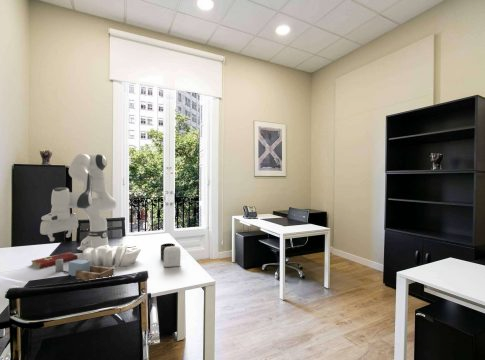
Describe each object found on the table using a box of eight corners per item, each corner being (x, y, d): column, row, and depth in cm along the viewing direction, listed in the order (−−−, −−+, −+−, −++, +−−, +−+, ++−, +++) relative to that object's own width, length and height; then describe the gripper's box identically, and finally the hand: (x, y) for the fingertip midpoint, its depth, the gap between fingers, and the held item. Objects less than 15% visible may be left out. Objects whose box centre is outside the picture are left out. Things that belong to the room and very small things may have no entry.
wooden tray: (113, 276, 140) (113, 268, 140) (99, 282, 131) (99, 274, 131) (90, 272, 144) (90, 265, 144) (75, 279, 135) (75, 270, 135)
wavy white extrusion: (75, 268, 151) (75, 251, 151) (89, 259, 167) (89, 244, 167) (135, 267, 154) (135, 250, 154) (143, 258, 171) (143, 243, 171)
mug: (172, 261, 165) (172, 247, 165) (157, 259, 169) (157, 246, 169) (180, 257, 174) (180, 244, 174) (166, 255, 178) (166, 242, 178)
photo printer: (180, 264, 160) (180, 245, 160) (180, 266, 156) (180, 246, 156) (163, 265, 158) (163, 245, 158) (163, 267, 154) (163, 247, 153)
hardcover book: (77, 261, 165) (77, 254, 165) (39, 270, 148) (39, 263, 148) (69, 257, 172) (69, 251, 172) (31, 267, 154) (31, 260, 154)
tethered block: (90, 274, 142) (90, 261, 142) (82, 277, 137) (82, 264, 137) (61, 269, 148) (61, 257, 148) (52, 272, 143) (52, 259, 143)
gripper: (73, 212, 156) (73, 234, 156) (38, 217, 136) (38, 242, 136) (80, 213, 154) (80, 235, 154) (46, 218, 134) (46, 243, 134)
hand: (60, 239), depth 145 cm, fingers open, 8 cm apart
